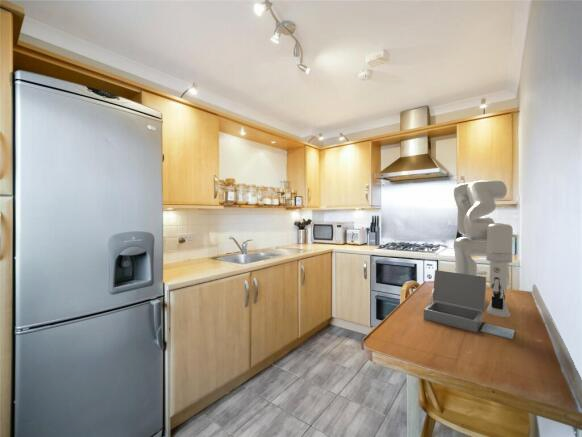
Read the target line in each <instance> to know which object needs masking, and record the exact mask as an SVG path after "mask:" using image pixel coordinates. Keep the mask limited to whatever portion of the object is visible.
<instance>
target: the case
mask: <svg viewBox="0 0 582 437" xmlns="http://www.w3.org/2000/svg"><path fill="white" fill-rule="evenodd" d="M483 317H484V312H483V310H480V309H475V308H470V307H466V306H461V305H456V304H451V303H446V302H442V301H437V300H434V301H432V302H431V304H430V305H429V306H428V305H427V306H426V307H425V308H423V320H426V321H430V322H434V323H438V324H442V325H445V326H450V327H453V328H458V329H462V330H466V331H470V332H473V333H477V332H478V330H479V329H480V328H481V325H482V324H483V322H484V321H483V320H484V318H483Z"/></svg>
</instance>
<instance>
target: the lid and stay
mask: <svg viewBox="0 0 582 437" xmlns="http://www.w3.org/2000/svg"><path fill="white" fill-rule="evenodd" d="M433 280H434V281H433V288H432V291H431V293H430V294H431V295H430V299H429V302H428V303H427V306H429V305H430V304H431V303H432V302H434V300H437V301H442V302H446V303H451V304H456V305H461V306H466V307H470V308H475V309H480V310H483V313H485V312H486V310H485V309H486V292H487V291H486V290H487V276H481V275H477V276H475V275H468V274H460V273H455V272H453V271H452V272H450V271H445V270H437V269H435V270H434V278H433Z"/></svg>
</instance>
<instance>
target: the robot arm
mask: <svg viewBox="0 0 582 437" xmlns="http://www.w3.org/2000/svg"><path fill="white" fill-rule="evenodd" d="M507 191H508V189H507V186H506V183H505V182H504V181H502V180H476V181H473V182H465V183H464V182H462V183H460V184H457V185H455V186H454V189H453V197H454V201H455V204H456V206H457V220H456V221H457V222H456V223H457V226H456V227H457V232H458V233H459V234H460V235H463V236H462V237H458V238H456V239H454V241H453V249H454V250H453V251H454V259H455V263H454V264H455V266H454V273H460V274H468V275H475V276H478V265H477V262H476V261H475V260H474V258H472V257H485V258H486V261H487V262H489V287H490V289H492V292H491V293H492V294H491V299H492V308H496V309H501V310H502V309H503V298H502V291H503V296H504V300H505V301H506V295H505V291H508V290H509V289H510V266H509V265H510V264H512V263H513V242H514V240H513V235H514V234H513V233H514V232H513V231H514V230H513V226H512V225H511V224H506V223H501V222H500V223H498V222H497V223H496V222H495V221H494V219H493V218H492V217H488V215H490V214H491V213H493V212H494V211H495V210H496V206H497V205H496V202H495V201H497V200H502V199H504V198H505V197H506V196H507V193H508V192H507ZM464 235H465V237H464ZM499 288H501V289H499ZM503 289H504V290H503ZM499 291H500V292H499Z"/></svg>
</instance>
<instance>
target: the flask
mask: <svg viewBox="0 0 582 437" xmlns="http://www.w3.org/2000/svg"><path fill="white" fill-rule="evenodd" d="M499 289H501V288H499ZM503 290H504V291H505V289H503ZM499 292H500V291H499ZM502 298H503V309H502V310H501V309H496V308H492V298H491V300H490V301H489V304H488V306H487V308H486V310H485V312H486V313H487V314H489V315H492V316H496V317H501V318H502V317H503V318H509V317H511V313H510V311H509V308H508V305H507V303H506V299H505V300H504V296H503V291H502Z"/></svg>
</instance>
